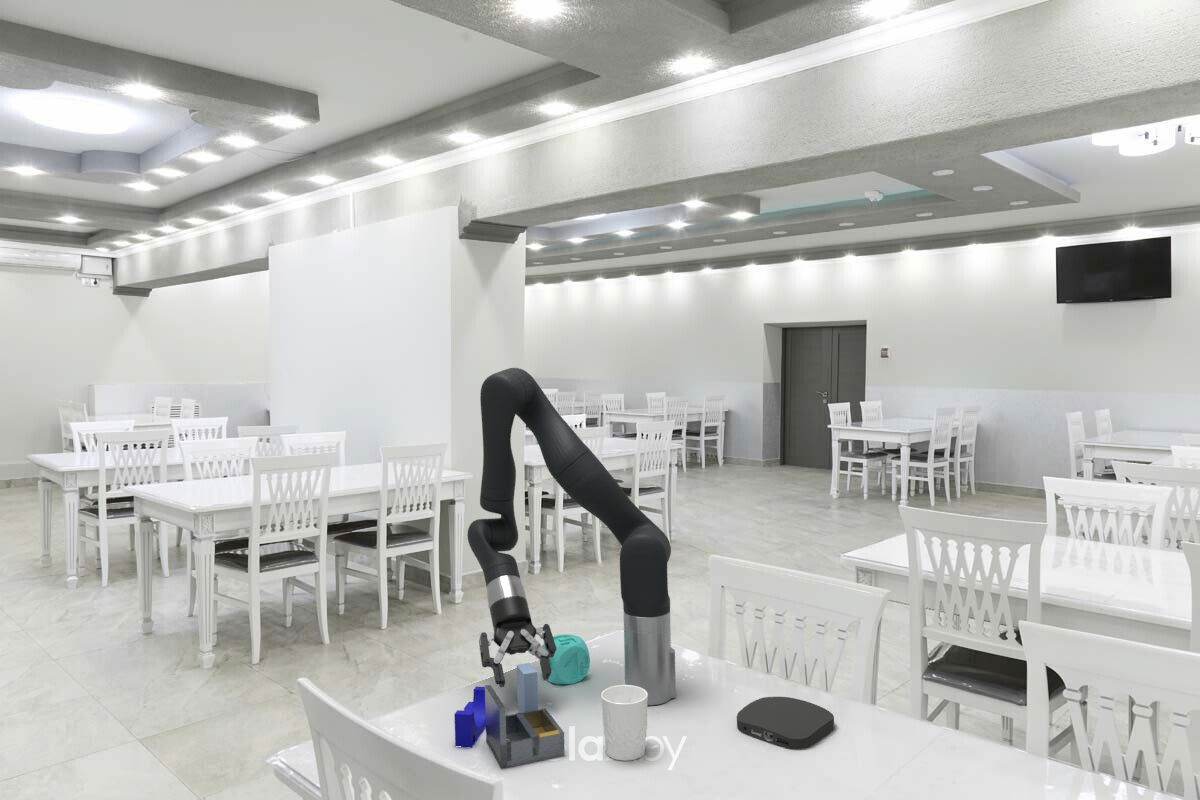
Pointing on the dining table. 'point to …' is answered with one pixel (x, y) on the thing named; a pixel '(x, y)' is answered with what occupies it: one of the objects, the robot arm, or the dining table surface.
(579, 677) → the decorative dice
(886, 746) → the dining table surface
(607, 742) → the white cup
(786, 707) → the media streaming box
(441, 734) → the dining table surface
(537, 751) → the grey compartment holder
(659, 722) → the dining table surface
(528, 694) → the light blue rectangular block
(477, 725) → the blue piece
